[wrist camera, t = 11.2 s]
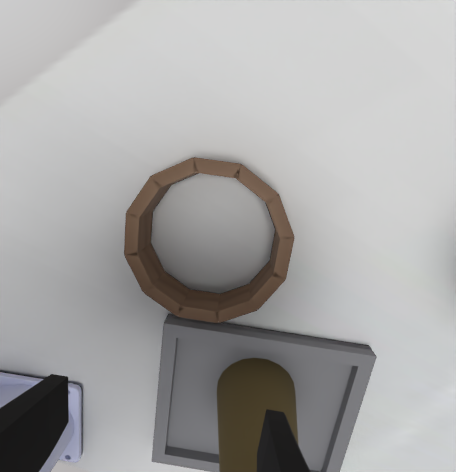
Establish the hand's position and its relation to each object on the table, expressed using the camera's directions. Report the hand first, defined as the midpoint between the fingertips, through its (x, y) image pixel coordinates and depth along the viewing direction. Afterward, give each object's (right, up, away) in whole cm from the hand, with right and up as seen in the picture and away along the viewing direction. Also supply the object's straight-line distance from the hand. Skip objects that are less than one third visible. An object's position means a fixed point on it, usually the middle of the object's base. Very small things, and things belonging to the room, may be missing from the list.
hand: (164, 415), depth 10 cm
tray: (+4, -7, +12) cm, 15 cm away
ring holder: (+1, +6, +9) cm, 11 cm away
